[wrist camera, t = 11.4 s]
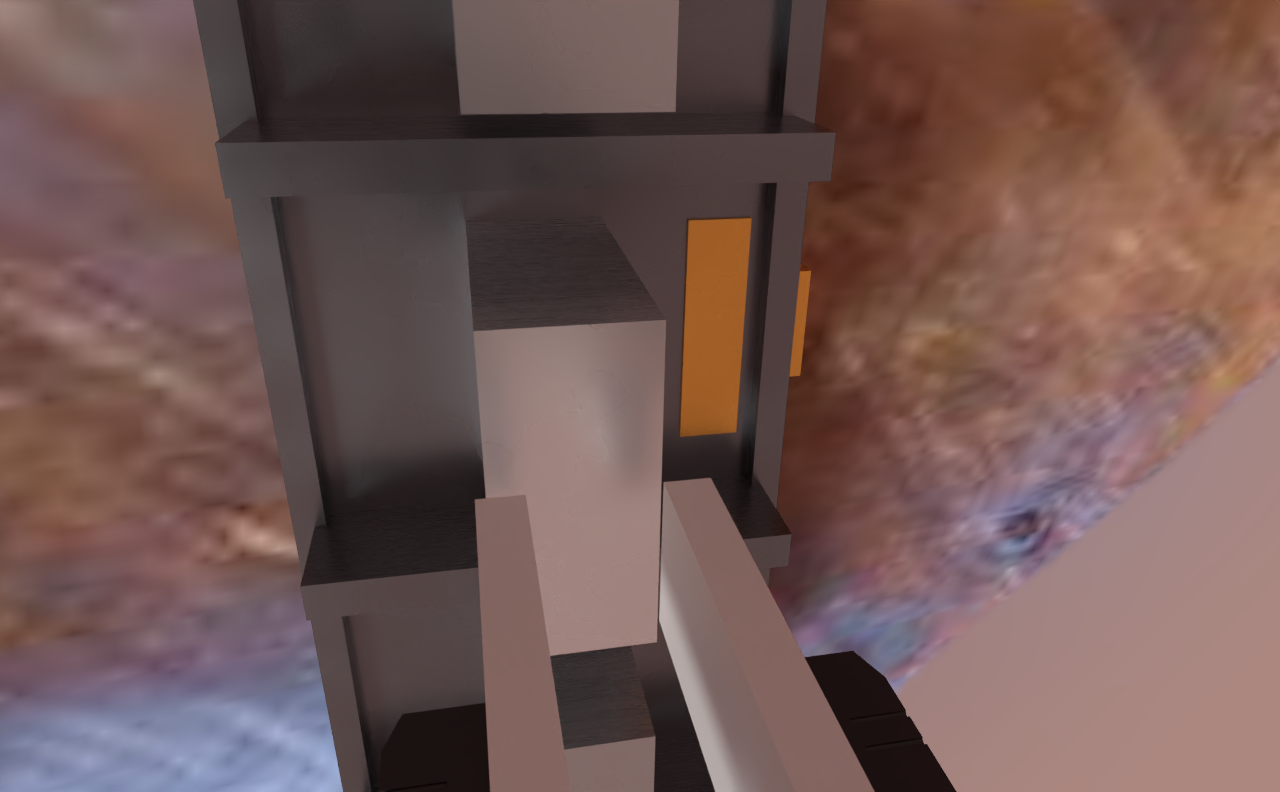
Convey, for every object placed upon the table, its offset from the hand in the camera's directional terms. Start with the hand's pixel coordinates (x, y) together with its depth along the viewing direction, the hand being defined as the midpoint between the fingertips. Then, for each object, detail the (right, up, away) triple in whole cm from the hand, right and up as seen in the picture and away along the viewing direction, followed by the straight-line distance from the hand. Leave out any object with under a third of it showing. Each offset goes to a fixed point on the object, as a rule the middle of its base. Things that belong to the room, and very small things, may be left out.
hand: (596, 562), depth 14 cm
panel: (-2, +4, +8) cm, 9 cm away
